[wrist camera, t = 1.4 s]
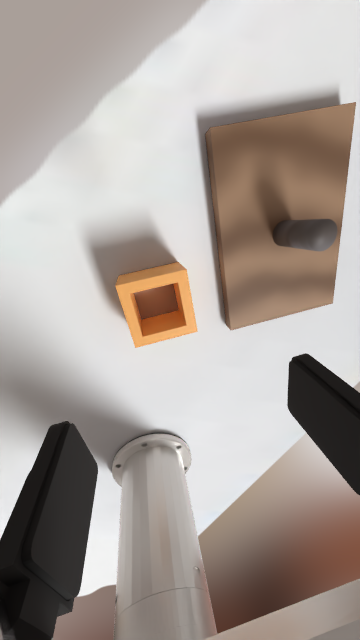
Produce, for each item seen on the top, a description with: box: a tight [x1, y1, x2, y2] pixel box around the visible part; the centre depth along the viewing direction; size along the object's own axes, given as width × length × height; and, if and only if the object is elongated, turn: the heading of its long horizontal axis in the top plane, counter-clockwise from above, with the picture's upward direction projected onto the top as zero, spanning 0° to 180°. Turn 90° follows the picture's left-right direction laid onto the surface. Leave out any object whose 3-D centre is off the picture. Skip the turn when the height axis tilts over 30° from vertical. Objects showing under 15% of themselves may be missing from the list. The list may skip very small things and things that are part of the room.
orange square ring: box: [115, 262, 198, 348], centre depth 23 cm, size 7×7×4 cm
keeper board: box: [205, 102, 356, 330], centre depth 22 cm, size 20×14×7 cm
